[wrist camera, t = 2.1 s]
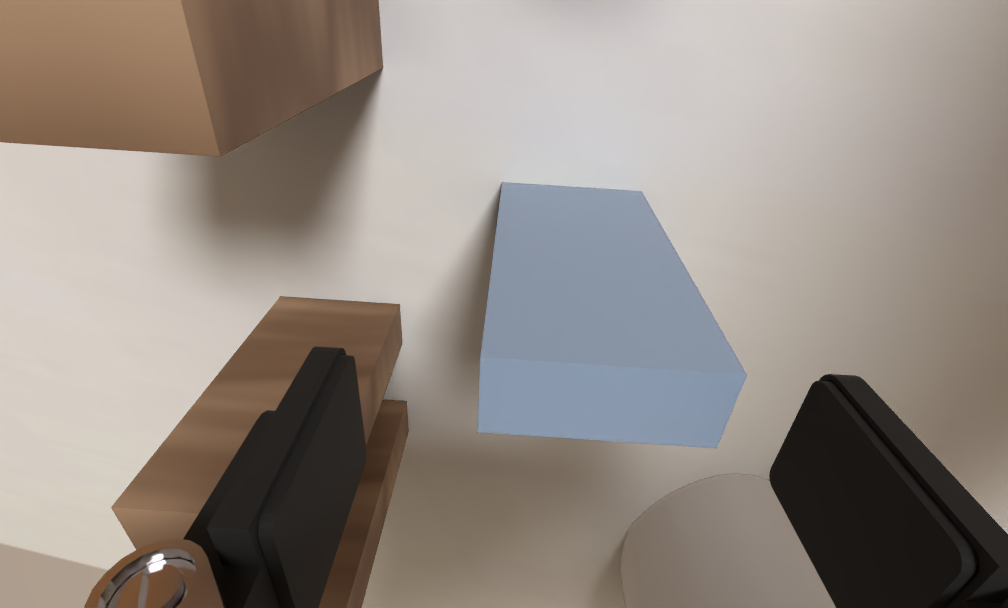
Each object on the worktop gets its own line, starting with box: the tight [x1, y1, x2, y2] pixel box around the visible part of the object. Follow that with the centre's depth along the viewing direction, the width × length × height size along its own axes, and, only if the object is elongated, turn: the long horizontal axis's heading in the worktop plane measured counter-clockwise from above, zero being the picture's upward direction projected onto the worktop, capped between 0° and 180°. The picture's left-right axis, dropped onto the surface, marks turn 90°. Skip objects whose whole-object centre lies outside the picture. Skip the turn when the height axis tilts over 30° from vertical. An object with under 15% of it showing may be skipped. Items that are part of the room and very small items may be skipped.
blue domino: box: [478, 182, 747, 448], centre depth 14 cm, size 2×5×10 cm, turn 87°
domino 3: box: [319, 400, 409, 608], centre depth 20 cm, size 2×5×10 cm, turn 87°
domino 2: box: [111, 296, 402, 550], centre depth 17 cm, size 2×5×10 cm, turn 87°
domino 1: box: [0, 0, 383, 156], centre depth 11 cm, size 2×5×10 cm, turn 87°
